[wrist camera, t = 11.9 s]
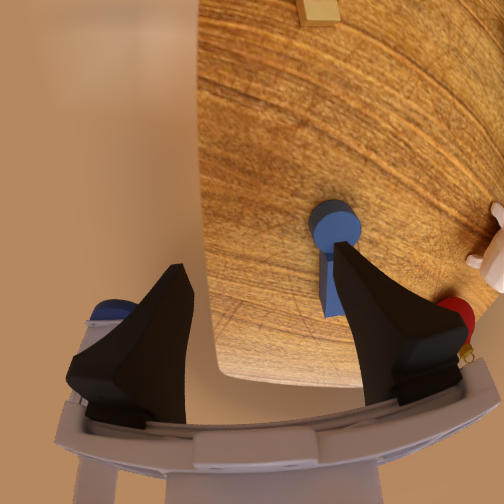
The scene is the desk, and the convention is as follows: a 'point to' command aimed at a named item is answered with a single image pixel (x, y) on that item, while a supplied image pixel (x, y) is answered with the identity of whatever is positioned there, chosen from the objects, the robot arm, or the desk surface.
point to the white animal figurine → (492, 255)
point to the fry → (318, 12)
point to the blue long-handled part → (332, 246)
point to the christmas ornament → (467, 316)
